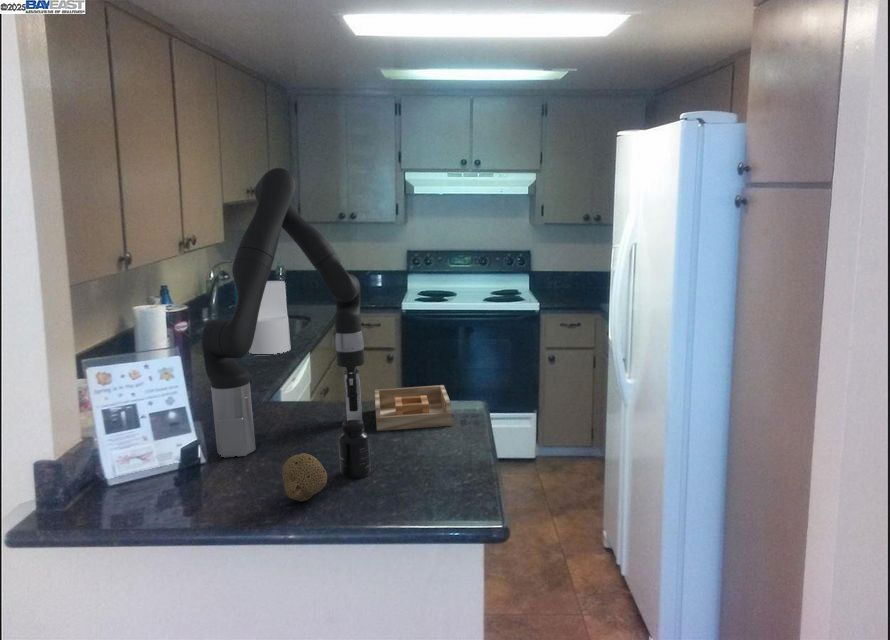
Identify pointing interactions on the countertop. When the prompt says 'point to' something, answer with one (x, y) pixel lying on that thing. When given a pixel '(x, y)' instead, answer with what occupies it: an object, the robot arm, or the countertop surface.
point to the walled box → (412, 408)
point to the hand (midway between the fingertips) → (354, 408)
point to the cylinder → (272, 321)
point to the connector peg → (357, 414)
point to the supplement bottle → (354, 450)
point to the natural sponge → (303, 477)
